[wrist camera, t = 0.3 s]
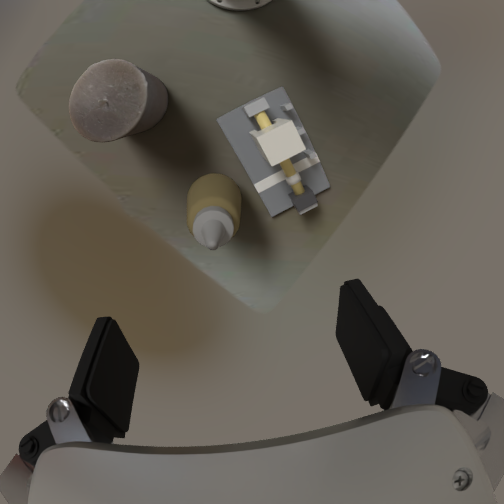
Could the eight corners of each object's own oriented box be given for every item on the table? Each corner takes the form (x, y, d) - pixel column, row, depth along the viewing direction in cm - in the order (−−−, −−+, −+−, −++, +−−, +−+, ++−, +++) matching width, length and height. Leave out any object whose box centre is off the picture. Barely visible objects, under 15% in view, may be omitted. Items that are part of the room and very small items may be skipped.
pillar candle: (128, 144, 38) (89, 163, 25) (98, 97, 33) (49, 96, 20) (180, 109, 36) (162, 108, 23) (150, 60, 32) (119, 38, 19)
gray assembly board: (216, 119, 38) (215, 120, 32) (281, 86, 36) (291, 83, 31) (270, 214, 46) (277, 230, 41) (328, 184, 45) (342, 196, 39)
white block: (248, 132, 38) (256, 137, 30) (277, 118, 37) (291, 120, 30) (261, 155, 39) (271, 166, 32) (289, 141, 39) (306, 149, 32)
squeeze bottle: (250, 189, 44) (269, 239, 28) (218, 225, 46) (219, 291, 31) (211, 157, 41) (206, 189, 25) (179, 196, 43) (157, 250, 27)
